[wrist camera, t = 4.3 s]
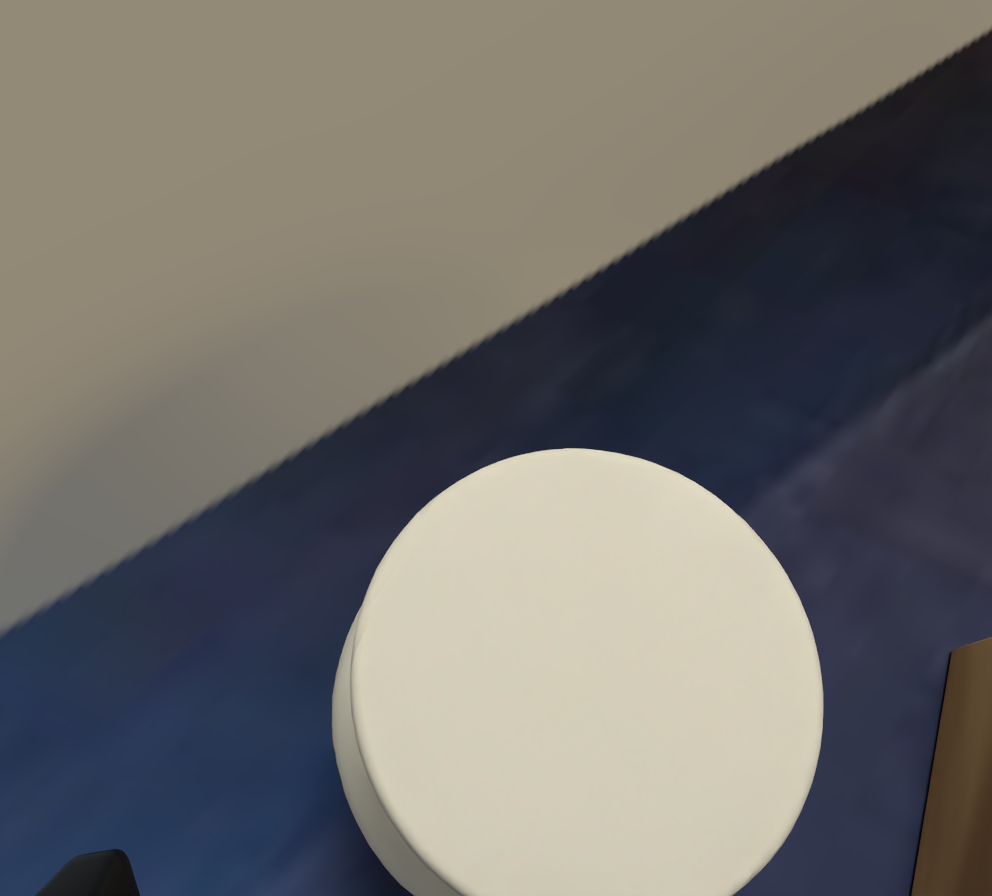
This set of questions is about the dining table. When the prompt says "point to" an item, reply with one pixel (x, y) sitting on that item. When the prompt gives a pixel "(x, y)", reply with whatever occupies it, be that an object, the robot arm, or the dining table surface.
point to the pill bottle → (577, 688)
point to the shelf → (960, 784)
